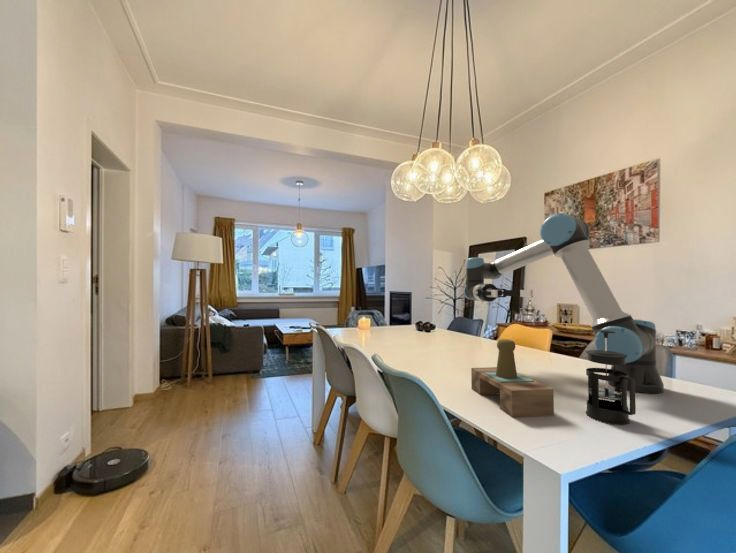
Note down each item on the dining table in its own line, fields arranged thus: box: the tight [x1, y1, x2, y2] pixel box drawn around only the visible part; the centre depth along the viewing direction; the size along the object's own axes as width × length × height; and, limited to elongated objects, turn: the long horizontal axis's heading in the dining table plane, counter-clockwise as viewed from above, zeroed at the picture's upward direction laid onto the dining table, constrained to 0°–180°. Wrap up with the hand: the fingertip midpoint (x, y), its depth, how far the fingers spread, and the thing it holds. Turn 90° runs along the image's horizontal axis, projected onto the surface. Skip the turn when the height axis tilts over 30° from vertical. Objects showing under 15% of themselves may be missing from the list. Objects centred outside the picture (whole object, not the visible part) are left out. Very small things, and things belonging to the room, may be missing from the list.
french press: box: [585, 330, 637, 426], centre depth 86 cm, size 12×9×23 cm
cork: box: [496, 338, 518, 379], centre depth 99 cm, size 6×6×11 cm
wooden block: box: [470, 366, 555, 418], centre depth 99 cm, size 24×12×7 cm, turn 8°
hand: (514, 293), depth 118 cm, fingers open, 13 cm apart
